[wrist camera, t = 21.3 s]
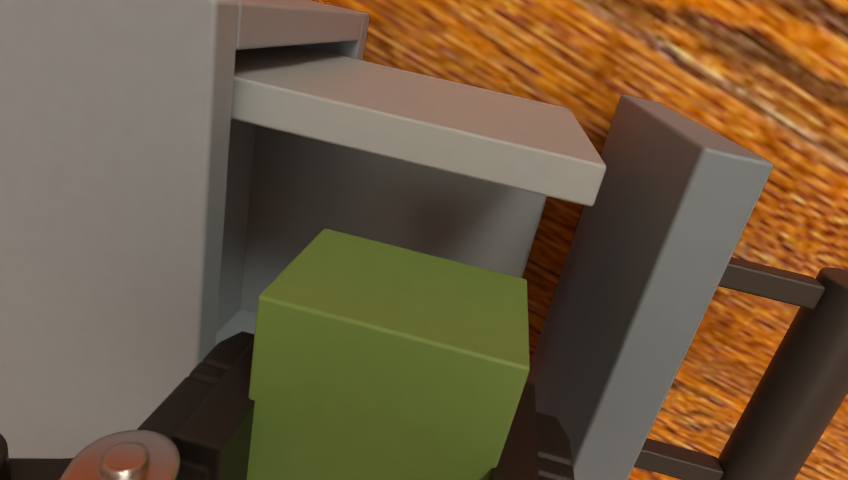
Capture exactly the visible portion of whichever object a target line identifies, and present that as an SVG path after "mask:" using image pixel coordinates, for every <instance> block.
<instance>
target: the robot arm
mask: <svg viewBox="0 0 848 480" xmlns="http://www.w3.org/2000/svg"><path fill="white" fill-rule="evenodd" d="M254 336H255V334H251V333H247V332H244V331H241V332H239V333H237V334H235V335H233V336H231V337H229V338H227V339H225V340H223V341H221V342H219V343H218V344H217V345H216V346H215V347H214V348H213V349H212V350H211V351H210V352H209V353H208V354H207V356H206V357H205V358H204V359H203V362H202V363H201V362H200V363H199V364H198V365H197V366H196V367H195V368H194V369H193V370H192V371H191V372H190V375H189V377H186V378H185V379H184V380H183V381H182V382H181V383H180V384H179V385H178V386H177V387H176V388H175V389H174V390H173V392H172V393H171V394H170V395H169V396H168V397H167V398H166V399H165V400H164V401H163V402H162V403H161V404H160V405H159V406H158V407H157V408H156V409H155V411H154V412H153V413H152V414H151V415H150V416H149V417H148V418H147V419H146V420H145V421H144V422H143V423H142V424H141V425H140V426H139V427H138V429H137V430H126V431H121V432H116V433H113V434H110V435H107V436H104V437H102V438H99V439H98V440H96V441H94V442H92V443H90V444H89V445H88V446H86V447H85V448H83V449H82V450H81V451H80V452H79V453H78V454H77V455H76V456H75V457H74V458H63V459H45V458H9V453H8V445H7V442H6V439H5V438H4V437H3V436H2V434H0V480H247V471H248V462H249V452H250V442H251V433H252V423H253V414H254V404H255V400H251V399H250V398H249V387H250V377H251V367H252V357H253V346H254ZM488 480H575V479H574V471H573V466H572V455H571V446H570V439H569V437H568V436H567V434H566V432H565V431H564V429H563V427H562V426H561V424H560V422H559V421H558V419H557V417H555V416H551V415H547V414H544V413H540V412H536V402H535V385H534V383H532V382H528V381H526V383H525V386H524V389H523V392H522V395H521V398H520V401H519V403H518V406H517V409H516V412H515V415H514V418H513V421H512V424H511V427H510V430H509V433H508V436H507V439H506V442H505V445H504V448H503V451H502V454H501V457H500V460H499V463H498V466H497V467H496V468H492V470H491V473H490V476H489V479H488Z"/></svg>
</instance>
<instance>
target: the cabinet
mask: <svg viewBox="0 0 848 480" xmlns="http://www.w3.org/2000/svg"><path fill="white" fill-rule="evenodd" d="M369 19H370V14H369V13H365V12H360V11H356V10H351V9H347V8H343V7H338V6H334V5H329V4H325V3H320V2H316V1H311V0H0V434H2V436H3V437H4V438H5V439H6V442H7V445H8V453H9V458H45V459H63V458H74V457H75V456H76V455H77V454H78V453H79V452H80V451H81V450H82V449H83V448H85V447H86V446H88V445H89V444H90V443H92V442H94V441H96V440H98V439H99V438H102V437H104V436H107V435H110V434H113V433H116V432H121V431H126V430H137V429H138V427H139V426H140V425H141V424H142V423H143V422H144V421H145V420H146V419H147V418H148V417H149V416H150V415H151V414H152V413H153V412H154V411H155V409H156V408H157V407H158V406H159V405H160V404H161V403H162V402H163V401H164V400H165V399H166V398H167V397H168V396H169V395H170V394H171V393H172V392H173V390H174V389H175V388H176V387H177V386H178V385H179V384H180V383H181V382H182V381H183V380H184V379H185V378H186V377H189V375H190V372H191V371H192V370H193V369H194V368H195V367H196V366H197V365H198V364H199V363H200V362H201V363H202V362H203V359H204V358H205V357H206V356H207V354H208V353H209V352H210V351H211V350H212V349H213V348H214V347H215V346H216V332H217V318H218V303H219V288H220V273H221V259H222V244H223V229H224V214H225V199H226V185H227V170H228V155H229V140H230V126H231V111H232V96H233V81H234V66H235V52H236V50H241V49H254V48H267V47H279V46H292V45H298V46H302V47H306V48H311V49H315V50H319V51H324V52H328V53H332V54H337V55H341V56H345V57H350V58H354V59H358V60H363V58H364V51H365V45H366V38H367V32H368V25H369Z"/></svg>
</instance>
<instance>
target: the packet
mask: <svg viewBox="0 0 848 480" xmlns="http://www.w3.org/2000/svg"><path fill="white" fill-rule="evenodd" d="M529 371H530V359H529V327H528V295H527V280H525V279H522V278H518V277H514V276H511V275H507V274H503V273H499V272H495V271H491V270H487V269H483V268H479V267H475V266H471V265H467V264H464V263H460V262H456V261H452V260H448V259H444V258H440V257H436V256H432V255H428V254H424V253H420V252H417V251H413V250H409V249H405V248H401V247H397V246H393V245H389V244H385V243H381V242H377V241H373V240H369V239H366V238H362V237H358V236H354V235H350V234H346V233H342V232H338V231H334V230H330V229H323V230H322V231H321V232H320V233H319V234H318V235H317V236H316V237H315V238H314V239H313V240H312V241H311V242H310V244H309V245H308V246H307V247H306V248H305V249H304V250H303V251H302V252H301V253H300V254H299V255H298V256H297V257H296V258H295V259H294V260H293V261H292V262H291V263H290V264H289V265H288V266H287V267H286V268H285V269H284V270H283V271H282V272H281V273H280V275H279V276H278V277H277V278H276V279H275V280H274V281H273V282H272V283H271V284H270V285H269V286H268V287H267V288H266V289H265V290H264V291H263V292H262V293H261V294H260V295H259V297H258V305H257V316H256V326H255V336H254V346H253V357H252V367H251V377H250V387H249V398H250V399H251V400H255V404H254V414H253V423H252V433H251V442H250V452H249V462H248V471H247V480H488V479H489V476H490V473H491V470H492V468H496V467H497V466H498V463H499V460H500V457H501V454H502V451H503V448H504V445H505V442H506V439H507V436H508V433H509V430H510V427H511V424H512V421H513V418H514V415H515V412H516V409H517V406H518V403H519V401H520V398H521V395H522V392H523V389H524V386H525V383H526V380H527V377H528V374H529Z"/></svg>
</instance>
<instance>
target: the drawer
mask: <svg viewBox="0 0 848 480" xmlns="http://www.w3.org/2000/svg"><path fill="white" fill-rule="evenodd" d="M772 169H773V164H772V163H771V162H770V161H768V160H766V159H764V158H762V157H760V156H759V155H757V154H755V153H753V152H751V151H749V150H747V149H745V148H744V147H742V146H740V145H738V144H736V143H734V142H732V141H730V140H729V139H727V138H725V137H723V136H721V135H719V134H717V133H715V132H714V131H712V130H710V129H708V128H706V127H704V126H702V125H700V124H698V123H697V122H695V121H693V120H691V119H689V118H687V117H685V116H683V115H682V114H680V113H678V112H676V111H674V110H672V109H670V108H668V107H667V106H665V105H663V104H661V103H659V102H654V101H650V100H646V99H641V98H637V97H633V96H628V95H622V96H621V97H620V100H619V103H618V106H617V109H616V112H615V115H614V118H613V121H612V123H611V126H610V129H609V132H608V135H607V138H606V141H605V144H604V147H603V150H602V153H601V156H600V155H599V154H598V152H597V151H596V149H595V148H594V146H593V144H592V143H591V141H590V140H589V138H588V137H587V135H586V133H585V132H584V130H583V129H582V127H581V125H580V124H579V122H578V121H577V119H576V118H575V116H574V114H573V113H572V112H571V110H570V109H569V108H565V107H561V106H556V105H552V104H548V103H543V102H539V101H535V100H531V99H526V98H522V97H518V96H513V95H509V94H505V93H500V92H496V91H492V90H487V89H483V88H479V87H475V86H470V85H466V84H462V83H457V82H453V81H449V80H444V79H440V78H436V77H431V76H427V75H423V74H419V73H414V72H410V71H406V70H401V69H397V68H393V67H388V66H384V65H380V64H375V63H371V62H367V61H363V60H358V59H354V58H350V57H345V56H341V55H337V54H332V53H328V52H324V51H319V50H315V49H311V48H306V47H302V46H298V45H292V46H279V47H267V48H254V49H241V50H236V52H235V66H234V81H233V96H232V111H231V126H230V140H229V155H228V170H227V185H226V199H225V214H224V229H223V244H222V259H221V273H220V288H219V303H218V318H217V332H216V345H217V344H218V343H219V342H221V341H223V340H225V339H227V338H229V337H231V336H233V335H235V334H237V333H239V332H241V331H244V332H247V333H251V334H255V326H256V316H257V305H258V297H259V295H260V294H261V293H262V292H263V291H264V290H265V289H266V288H267V287H268V286H269V285H270V284H271V283H272V282H273V281H274V280H275V279H276V278H277V277H278V276H279V275H280V273H281V272H282V271H283V270H284V269H285V268H286V267H287V266H288V265H289V264H290V263H291V262H292V261H293V260H294V259H295V258H296V257H297V256H298V255H299V254H300V253H301V252H302V251H303V250H304V249H305V248H306V247H307V246H308V245H309V244H310V242H311V241H312V240H313V239H314V238H315V237H316V236H317V235H318V234H319V233H320V232H321V231H322V230H323V229H330V230H334V231H338V232H342V233H346V234H350V235H354V236H358V237H362V238H366V239H369V240H373V241H377V242H381V243H385V244H389V245H393V246H397V247H401V248H405V249H409V250H413V251H417V252H420V253H424V254H428V255H432V256H436V257H440V258H444V259H448V260H452V261H456V262H460V263H464V264H467V265H471V266H475V267H479V268H483V269H487V270H491V271H495V272H499V273H503V274H507V275H511V276H514V277H518V278H522V277H523V273H524V270H525V267H526V264H527V260H528V257H529V254H530V251H531V247H532V244H533V241H534V238H535V234H536V231H537V228H538V225H539V221H540V218H541V215H542V212H543V208H544V205H545V202H546V199H547V196H549V197H553V198H557V199H561V200H565V201H569V202H573V203H577V204H581V205H584V206H583V209H582V212H581V215H580V218H579V221H578V224H577V227H576V230H575V233H574V236H573V239H572V242H571V245H570V248H569V251H568V254H567V257H566V260H565V263H564V266H563V269H562V272H561V275H560V278H559V281H558V284H557V287H556V290H555V292H554V295H553V298H552V301H551V304H550V307H549V310H548V313H547V316H546V319H545V322H544V325H543V328H542V331H541V334H540V337H539V340H538V343H537V346H536V349H535V352H534V355H533V358H532V361H531V364H530V371H529V374H528V377H527V380H526V381H528V382H532V383H534V385H535V402H536V412H540V413H544V414H547V415H551V416H555V417H557V419H558V421H559V422H560V424H561V426H562V427H563V429H564V431H565V432H566V434H567V436H568V437H569V439H570V446H571V455H572V466H573V471H574V479H575V480H628V477H629V475H630V473H631V471H632V469H633V467H634V466H635V467H639V468H642V469H646V470H650V471H653V472H657V473H660V474H664V475H668V476H671V477H675V478H679V479H682V480H794V479H795V477H796V476H797V474H798V472H799V471H800V469H801V467H802V466H803V464H804V463H805V461H806V459H807V458H808V456H809V455H810V453H811V451H812V450H813V448H814V447H815V445H816V443H817V442H818V440H819V439H820V437H821V435H822V434H823V432H824V431H825V429H826V427H827V426H828V424H829V423H830V421H831V419H832V418H833V416H834V415H835V413H836V411H837V410H838V408H839V407H840V405H841V403H842V402H843V400H844V399H845V397H846V395H847V394H848V271H846V270H842V269H837V268H828V267H827V268H822V269H821V270H820V272H819V273H818V275H817V277H816V279H815V278H813V277H810V276H806V275H802V274H798V273H794V272H790V271H786V270H782V269H778V268H774V267H770V266H765V265H761V264H757V263H753V262H749V261H745V260H741V259H737V258H733V257H732V254H733V252H734V250H735V248H736V246H737V244H738V242H739V239H740V237H741V235H742V233H743V231H744V229H745V227H746V224H747V222H748V220H749V218H750V216H751V214H752V212H753V209H754V207H755V205H756V203H757V201H758V199H759V197H760V194H761V192H762V190H763V188H764V186H765V184H766V181H767V179H768V177H769V175H770V173H771V171H772ZM718 286H721V287H725V288H729V289H733V290H737V291H741V292H745V293H749V294H753V295H757V296H761V297H765V298H769V299H773V300H777V301H781V302H785V303H789V304H793V305H797V306H801V307H800V308H799V310H798V312H797V314H796V316H795V318H794V320H793V321H792V323H791V325H790V327H789V329H788V331H787V332H786V334H785V336H784V338H783V340H782V342H781V344H780V345H779V347H778V349H777V351H776V353H775V355H774V357H773V358H772V360H771V362H770V364H769V366H768V368H767V369H766V371H765V373H764V375H763V377H762V379H761V381H760V382H759V384H758V386H757V388H756V390H755V392H754V393H753V395H752V397H751V399H750V401H749V403H748V405H747V406H746V408H745V410H744V412H743V414H742V416H741V417H740V419H739V421H738V423H737V425H736V427H735V429H734V430H733V432H732V434H731V436H730V438H729V440H728V441H727V443H726V445H725V447H724V449H723V451H722V453H721V454H720V456H719V458H718V459H717V458H716V457H714V456H711V455H707V454H703V453H700V452H696V451H692V450H689V449H685V448H681V447H678V446H674V445H670V444H667V443H663V442H659V441H656V440H652V439H648V438H647V437H648V435H649V432H650V430H651V428H652V426H653V424H654V422H655V420H656V417H657V415H658V413H659V411H660V409H661V407H662V405H663V402H664V400H665V398H666V396H667V394H668V392H669V390H670V387H671V385H672V383H673V381H674V379H675V377H676V375H677V372H678V370H679V368H680V366H681V364H682V362H683V360H684V357H685V355H686V353H687V351H688V349H689V347H690V345H691V342H692V340H693V338H694V336H695V334H696V332H697V329H698V327H699V325H700V323H701V321H702V319H703V317H704V314H705V312H706V310H707V308H708V306H709V304H710V302H711V299H712V297H713V295H714V293H715V291H716V289H717V287H718Z"/></svg>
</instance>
